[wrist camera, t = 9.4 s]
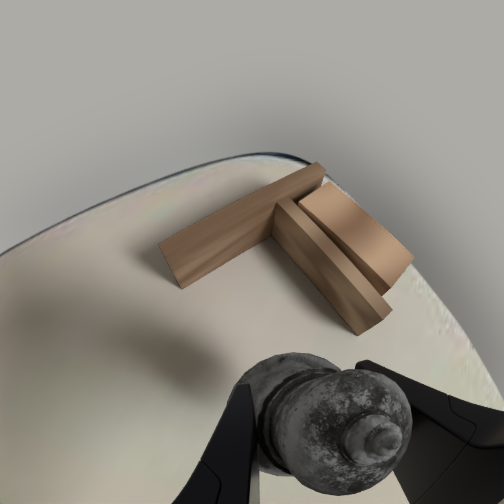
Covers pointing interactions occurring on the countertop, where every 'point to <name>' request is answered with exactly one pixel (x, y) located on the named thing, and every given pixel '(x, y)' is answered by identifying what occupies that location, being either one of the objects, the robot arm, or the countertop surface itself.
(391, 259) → the teak offcut
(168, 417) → the countertop surface
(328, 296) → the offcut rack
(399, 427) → the grey rounded upright piece
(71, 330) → the countertop surface
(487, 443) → the robot arm
